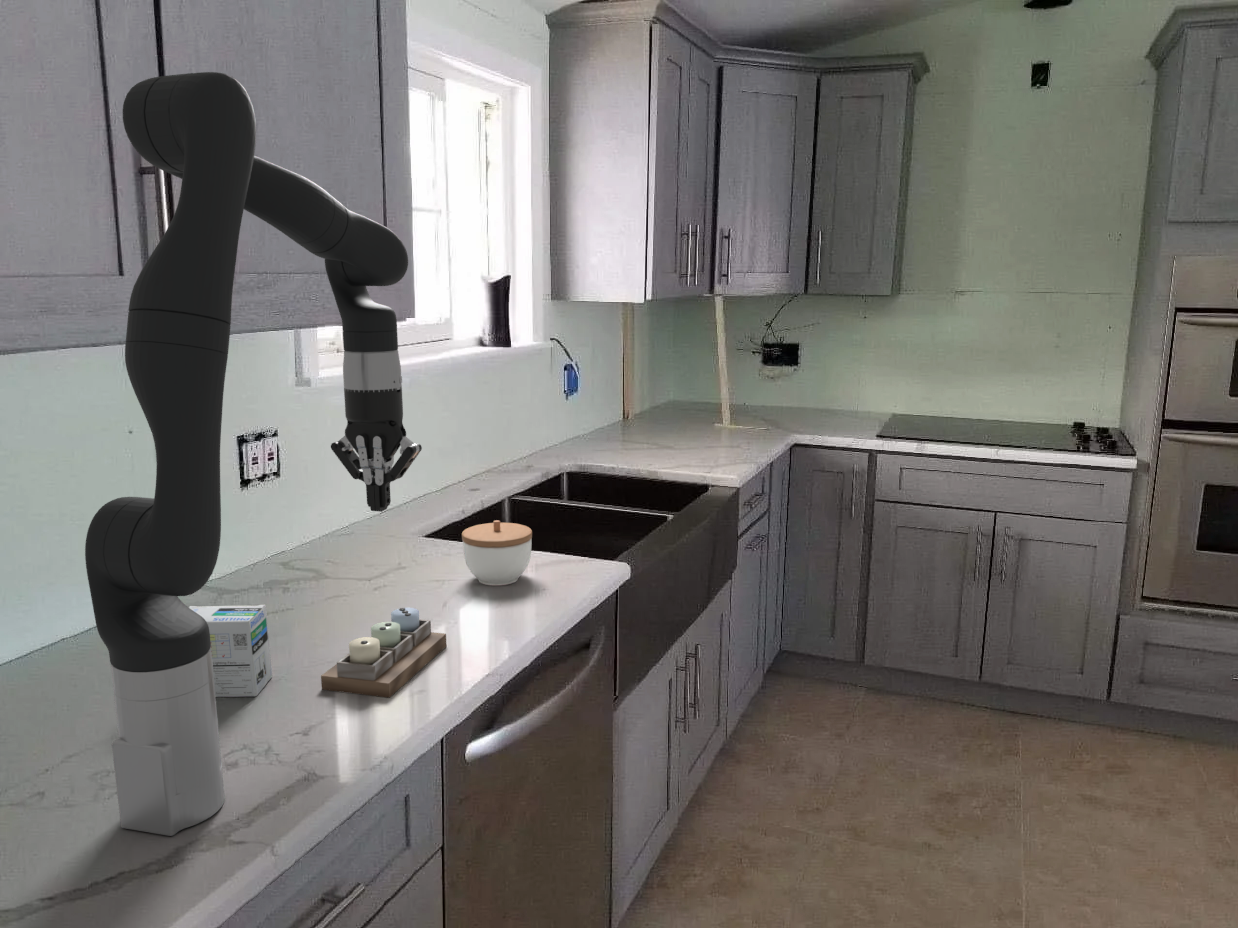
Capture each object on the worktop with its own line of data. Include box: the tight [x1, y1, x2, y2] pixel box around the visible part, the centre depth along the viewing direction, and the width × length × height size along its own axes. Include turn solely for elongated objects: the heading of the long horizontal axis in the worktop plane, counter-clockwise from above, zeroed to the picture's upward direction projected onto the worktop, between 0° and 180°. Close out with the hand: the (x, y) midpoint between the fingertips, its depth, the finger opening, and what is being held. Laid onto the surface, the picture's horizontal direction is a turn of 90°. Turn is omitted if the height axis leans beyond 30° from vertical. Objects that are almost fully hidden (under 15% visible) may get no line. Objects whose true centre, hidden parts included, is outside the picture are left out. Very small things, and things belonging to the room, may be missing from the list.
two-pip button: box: [370, 621, 401, 648], centre depth 134 cm, size 4×4×3 cm
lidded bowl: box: [461, 519, 533, 587], centre depth 172 cm, size 13×13×11 cm
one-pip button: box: [348, 636, 380, 665], centre depth 128 cm, size 4×4×3 cm
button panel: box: [320, 618, 447, 699], centre depth 135 cm, size 18×10×4 cm, turn 166°
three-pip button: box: [390, 607, 420, 632], centre depth 140 cm, size 4×4×3 cm
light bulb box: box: [189, 604, 273, 698], centre depth 127 cm, size 11×7×11 cm, turn 92°
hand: (379, 509), depth 130 cm, fingers closed
